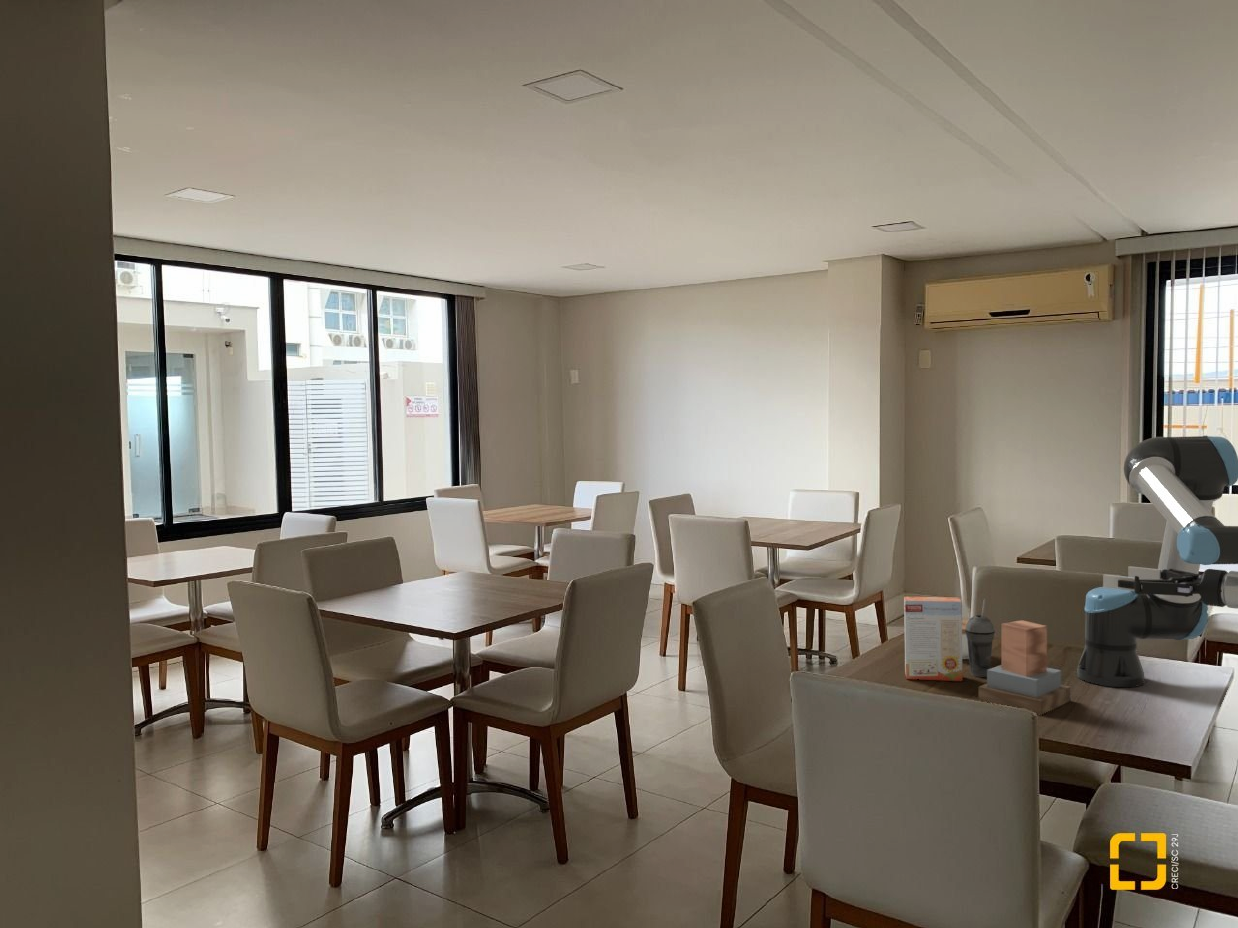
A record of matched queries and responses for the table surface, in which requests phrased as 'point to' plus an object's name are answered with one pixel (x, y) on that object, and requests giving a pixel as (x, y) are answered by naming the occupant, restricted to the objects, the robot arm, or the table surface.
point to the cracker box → (933, 638)
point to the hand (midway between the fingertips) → (1116, 576)
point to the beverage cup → (979, 643)
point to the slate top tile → (1024, 681)
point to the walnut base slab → (1026, 698)
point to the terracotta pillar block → (1024, 648)
